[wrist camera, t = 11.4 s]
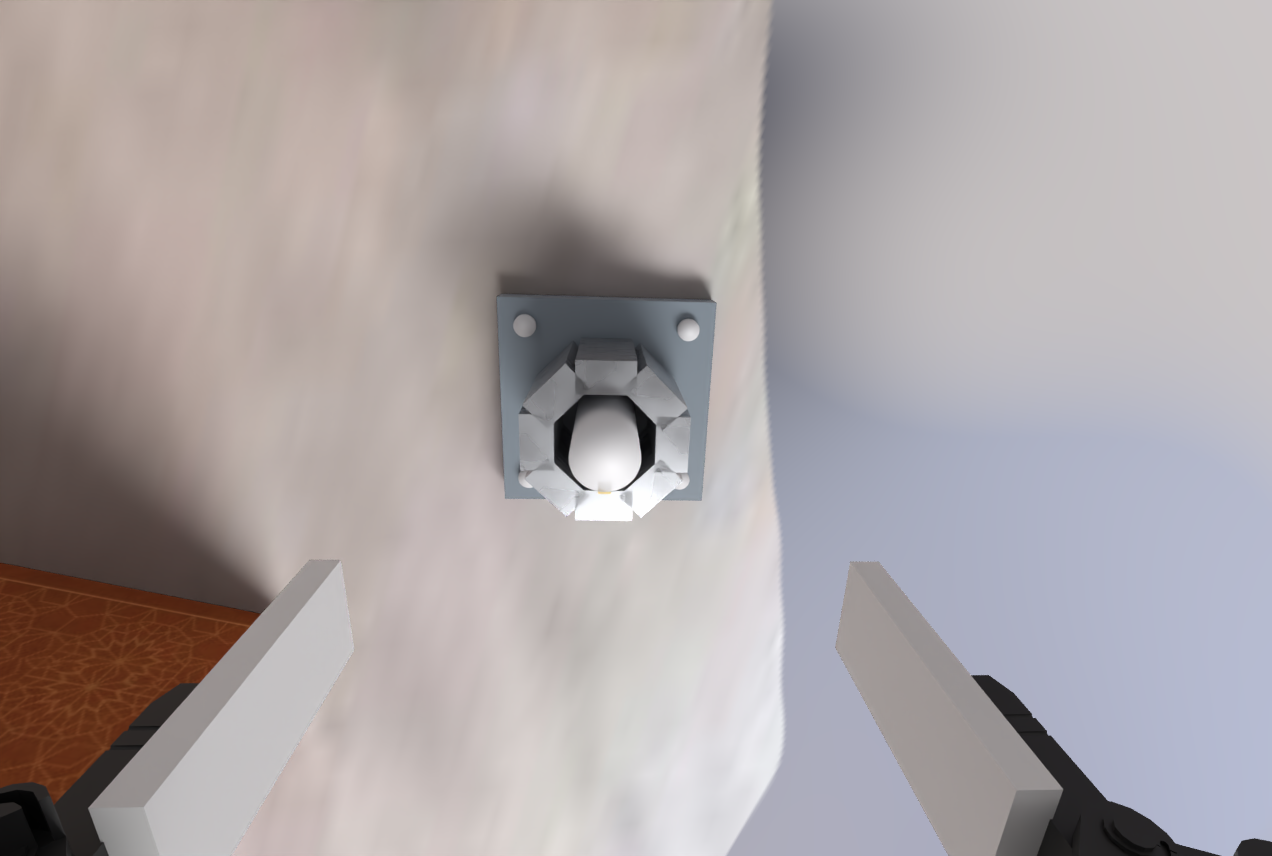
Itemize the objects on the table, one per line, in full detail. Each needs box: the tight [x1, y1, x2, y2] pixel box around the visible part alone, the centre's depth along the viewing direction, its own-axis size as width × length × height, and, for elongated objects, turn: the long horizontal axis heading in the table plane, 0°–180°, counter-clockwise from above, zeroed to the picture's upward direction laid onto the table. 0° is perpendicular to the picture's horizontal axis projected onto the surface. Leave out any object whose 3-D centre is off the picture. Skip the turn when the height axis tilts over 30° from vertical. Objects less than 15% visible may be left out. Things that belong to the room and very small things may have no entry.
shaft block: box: [497, 294, 716, 501], centre depth 30 cm, size 12×12×10 cm
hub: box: [518, 337, 691, 521], centre depth 30 cm, size 8×8×6 cm
